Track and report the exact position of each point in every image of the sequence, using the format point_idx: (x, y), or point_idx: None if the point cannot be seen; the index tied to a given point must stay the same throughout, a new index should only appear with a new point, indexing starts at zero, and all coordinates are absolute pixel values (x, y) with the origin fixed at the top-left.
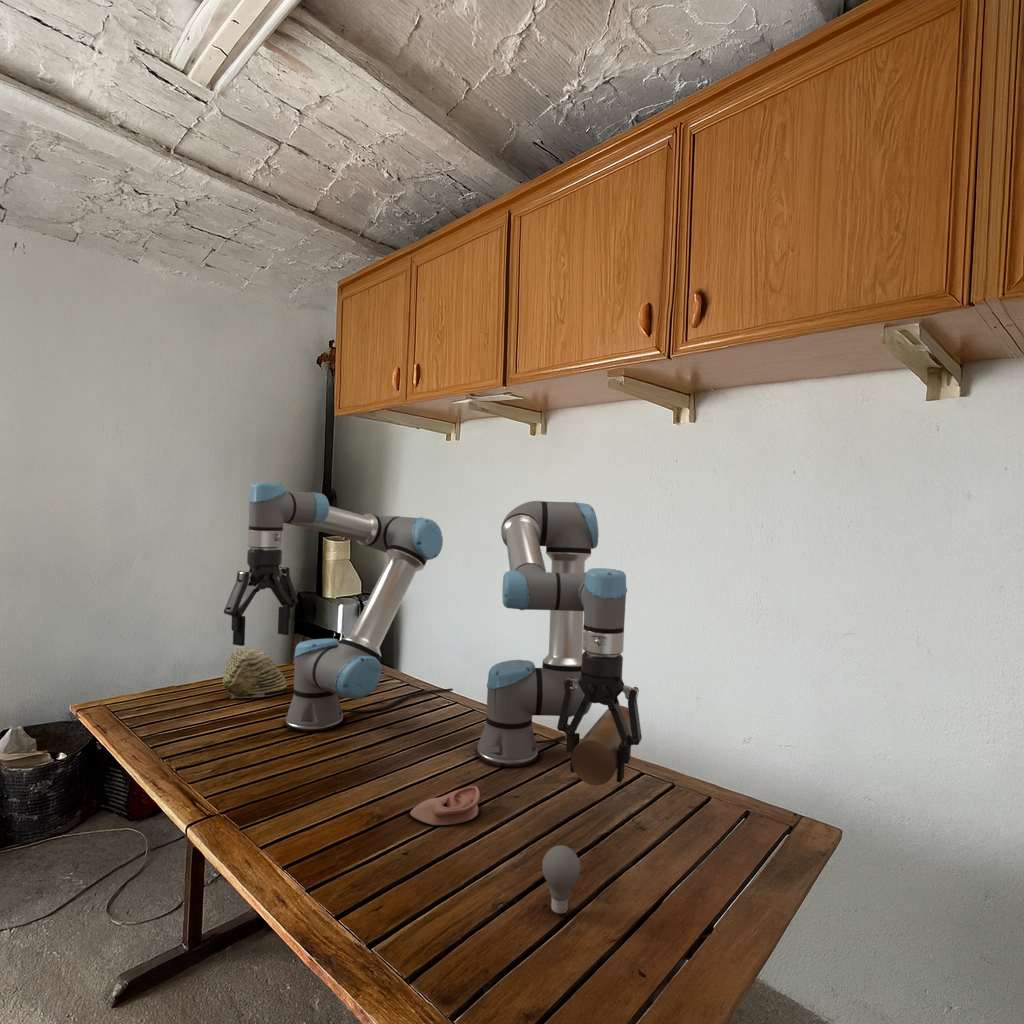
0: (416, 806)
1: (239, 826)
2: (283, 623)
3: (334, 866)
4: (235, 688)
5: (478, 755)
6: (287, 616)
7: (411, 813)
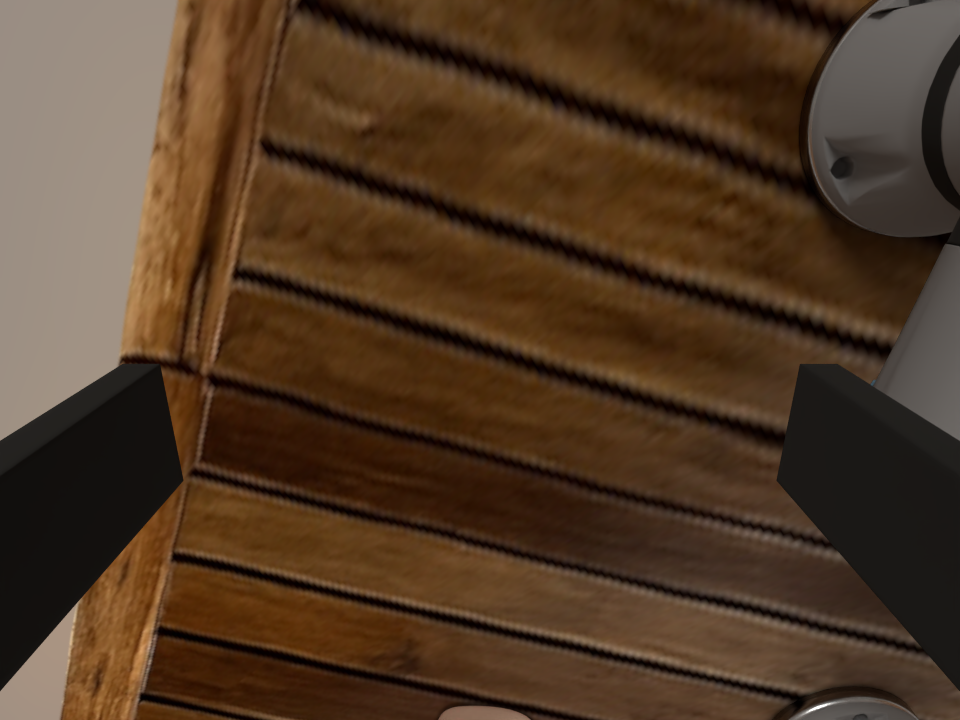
0: (469, 716)
1: (198, 461)
2: (864, 513)
3: (220, 691)
4: None
5: (796, 706)
6: (934, 645)
7: (444, 715)
